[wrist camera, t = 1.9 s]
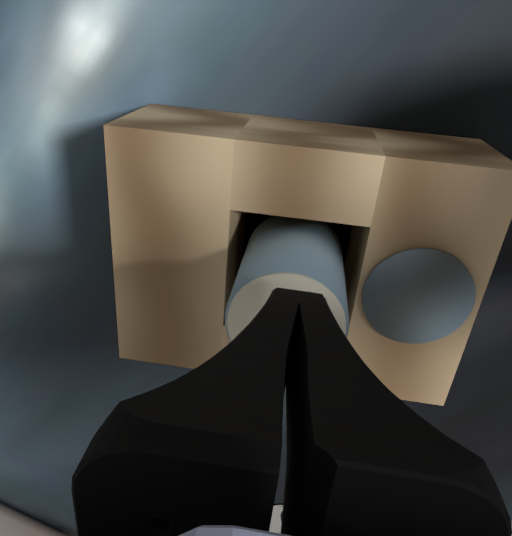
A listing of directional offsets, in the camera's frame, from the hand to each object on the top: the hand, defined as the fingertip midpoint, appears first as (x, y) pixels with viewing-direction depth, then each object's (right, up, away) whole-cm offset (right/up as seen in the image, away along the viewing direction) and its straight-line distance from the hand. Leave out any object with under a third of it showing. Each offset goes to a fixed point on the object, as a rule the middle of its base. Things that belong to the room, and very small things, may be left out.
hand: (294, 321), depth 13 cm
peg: (+1, +2, +7) cm, 7 cm away
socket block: (+1, +3, +9) cm, 10 cm away
